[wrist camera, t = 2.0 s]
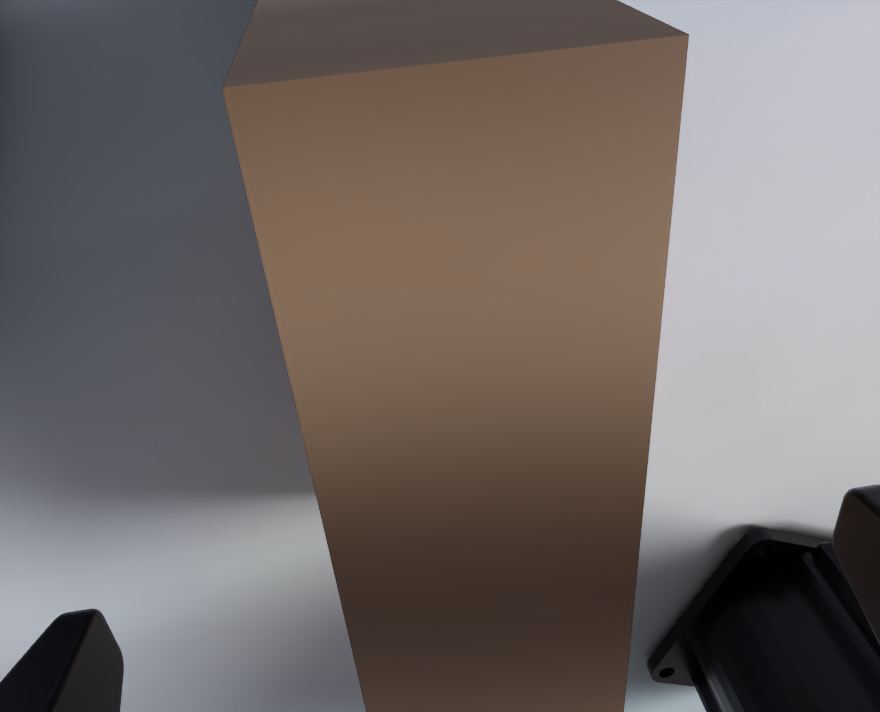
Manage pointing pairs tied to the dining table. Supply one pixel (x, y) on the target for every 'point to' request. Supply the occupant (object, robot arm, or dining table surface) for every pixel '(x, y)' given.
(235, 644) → the dining table surface
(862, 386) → the dining table surface
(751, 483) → the dining table surface
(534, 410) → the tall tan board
